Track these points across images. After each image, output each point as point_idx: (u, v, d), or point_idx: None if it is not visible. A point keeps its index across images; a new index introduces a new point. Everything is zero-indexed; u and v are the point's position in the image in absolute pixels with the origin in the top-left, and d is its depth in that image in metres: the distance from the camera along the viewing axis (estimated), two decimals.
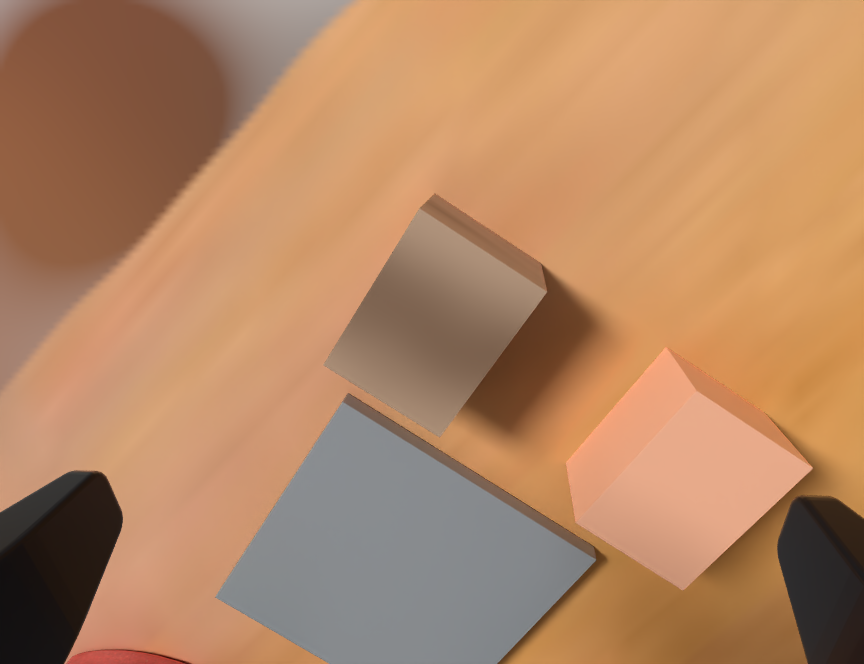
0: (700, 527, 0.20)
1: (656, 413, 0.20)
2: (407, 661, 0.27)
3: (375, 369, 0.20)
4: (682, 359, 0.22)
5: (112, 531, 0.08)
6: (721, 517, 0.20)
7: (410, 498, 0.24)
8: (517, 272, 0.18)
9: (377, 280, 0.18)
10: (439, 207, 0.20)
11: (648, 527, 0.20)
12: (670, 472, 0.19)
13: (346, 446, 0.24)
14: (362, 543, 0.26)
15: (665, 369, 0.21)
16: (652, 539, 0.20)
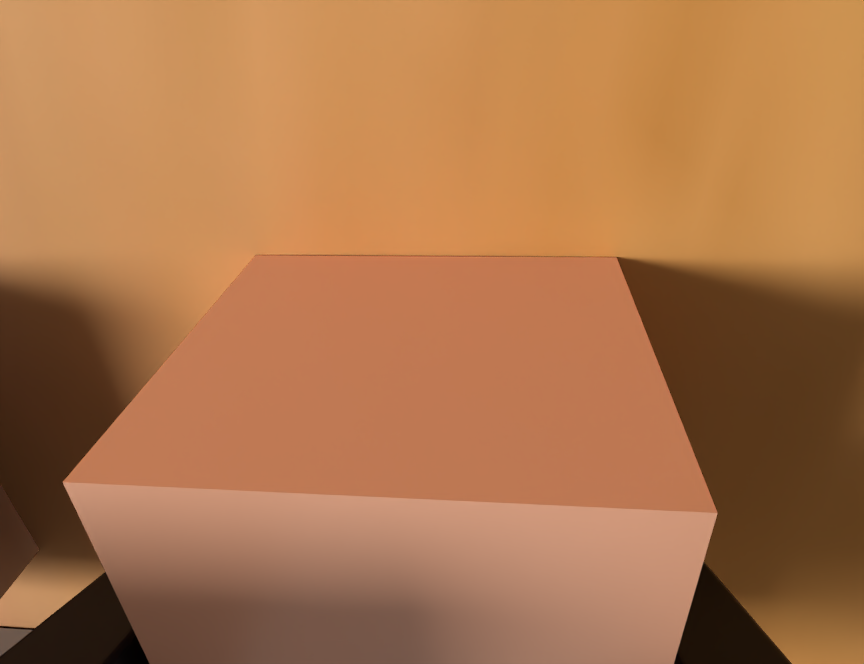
0: None
1: None
2: None
3: None
4: (293, 271, 0.07)
5: None
6: None
7: None
8: None
9: None
10: None
11: None
12: None
13: None
14: None
15: None
16: None
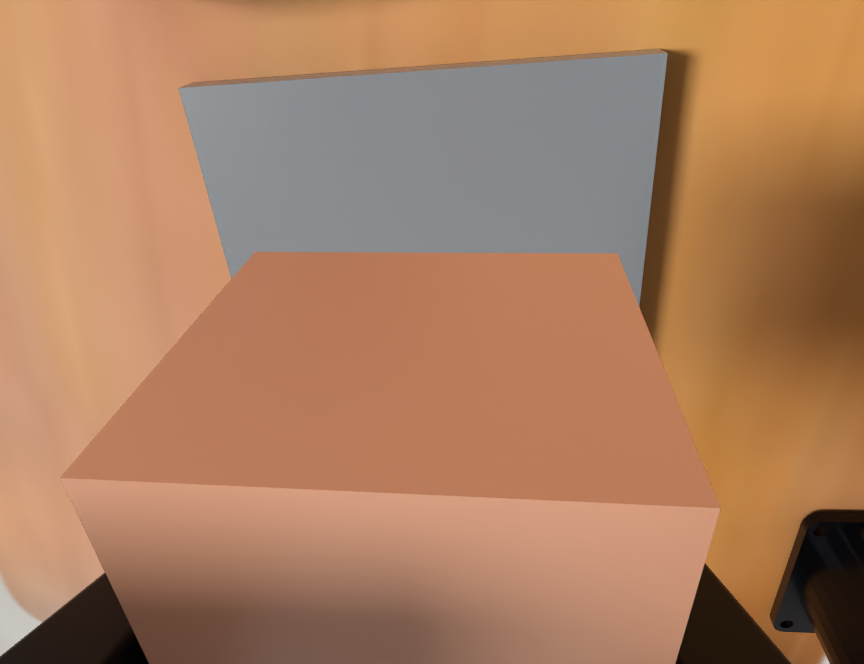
0: None
1: None
2: None
3: None
4: (292, 267, 0.07)
5: None
6: None
7: (360, 162, 0.16)
8: None
9: None
10: None
11: None
12: None
13: (234, 149, 0.16)
14: None
15: None
16: None
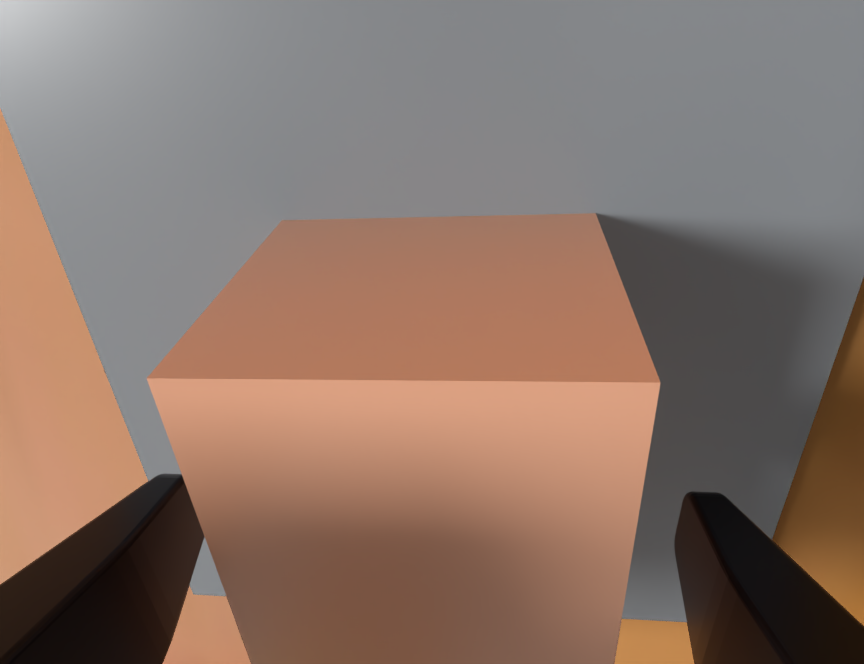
0: (509, 641, 0.07)
1: None
2: None
3: None
4: (316, 231, 0.08)
5: (198, 535, 0.08)
6: (534, 605, 0.07)
7: (318, 158, 0.08)
8: None
9: None
10: None
11: None
12: (320, 574, 0.07)
13: (80, 125, 0.08)
14: None
15: None
16: None
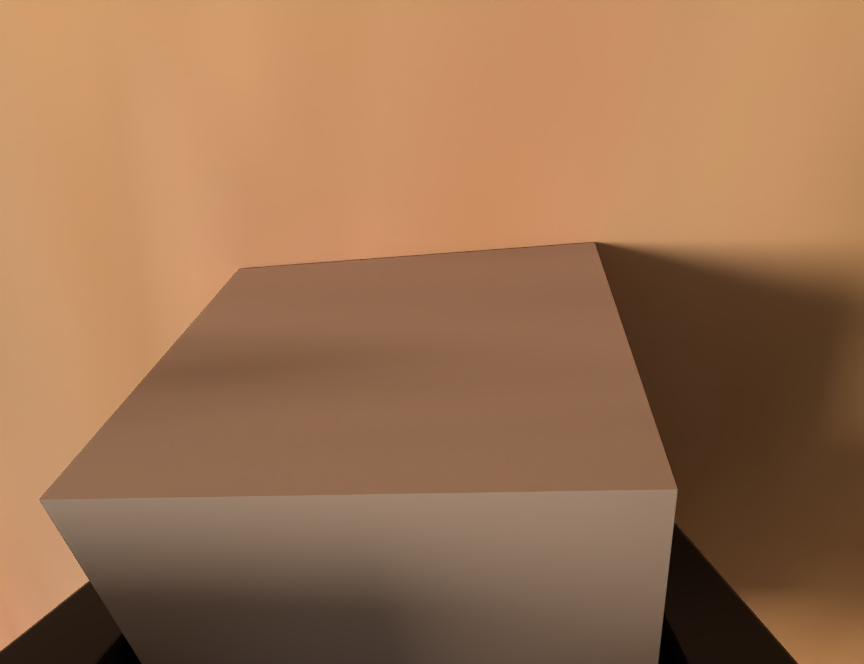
0: None
1: None
2: None
3: None
4: None
5: None
6: None
7: None
8: (508, 485, 0.04)
9: None
10: (204, 352, 0.06)
11: None
12: None
13: None
14: None
15: None
16: None
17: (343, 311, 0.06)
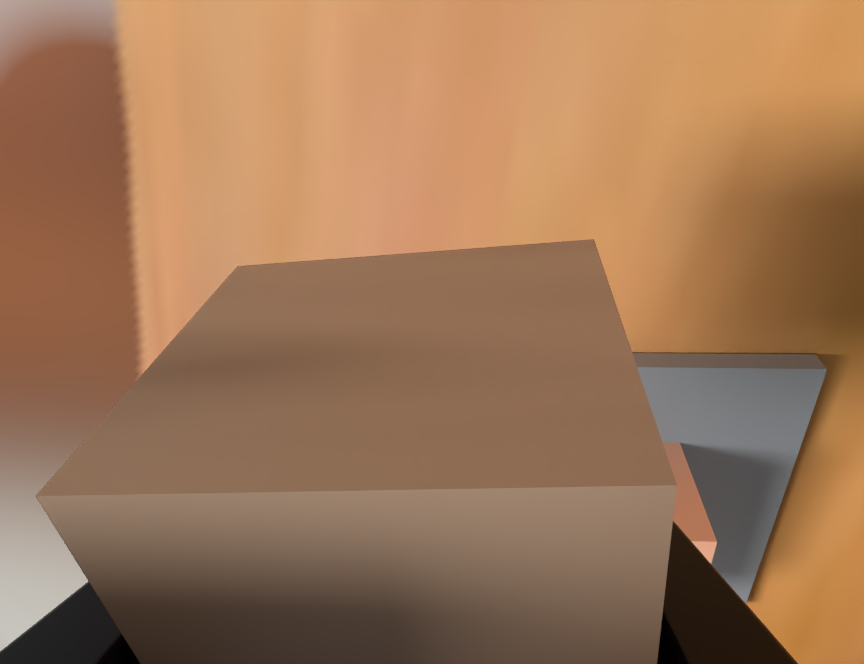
0: None
1: None
2: None
3: None
4: None
5: None
6: None
7: None
8: (506, 480, 0.04)
9: None
10: (201, 349, 0.06)
11: None
12: None
13: None
14: None
15: None
16: None
17: (341, 308, 0.06)
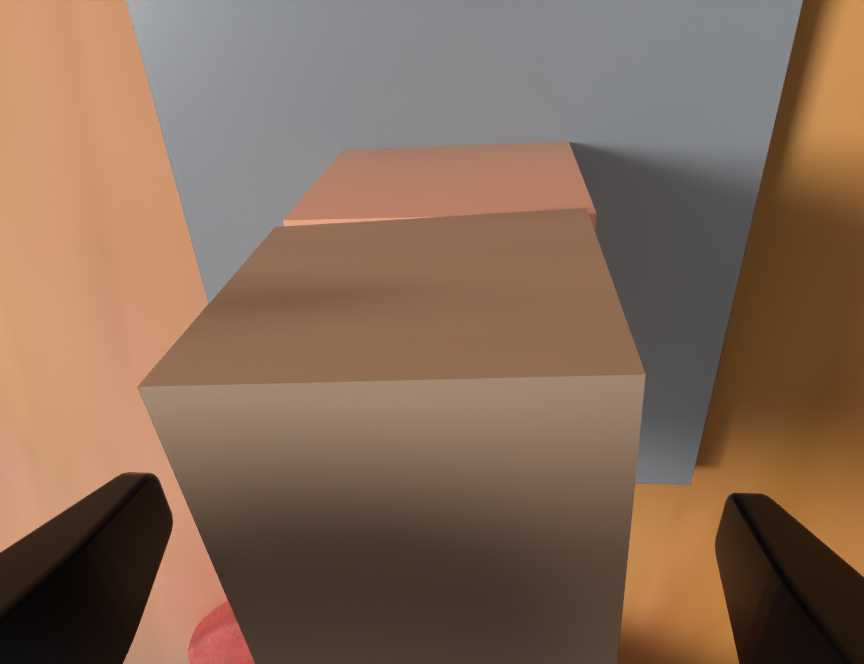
0: None
1: None
2: None
3: None
4: (369, 154, 0.12)
5: (163, 533, 0.08)
6: None
7: (371, 102, 0.12)
8: (515, 374, 0.05)
9: (219, 570, 0.07)
10: (255, 287, 0.07)
11: None
12: None
13: (200, 79, 0.12)
14: None
15: None
16: None
17: (371, 258, 0.08)
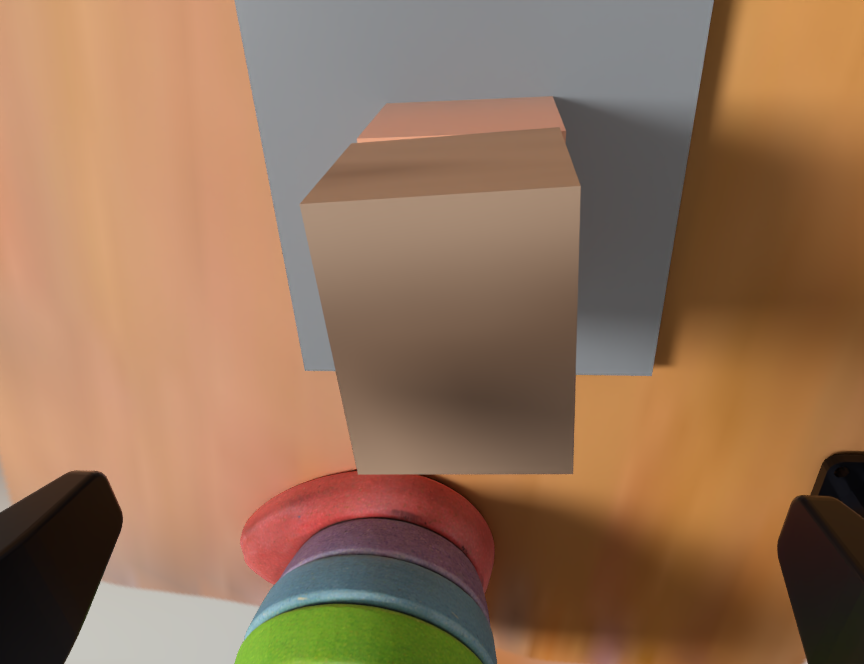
0: None
1: None
2: None
3: (422, 443, 0.12)
4: (407, 105, 0.16)
5: (112, 531, 0.08)
6: None
7: (408, 67, 0.16)
8: (511, 189, 0.10)
9: (331, 337, 0.11)
10: (350, 168, 0.12)
11: None
12: None
13: (283, 51, 0.16)
14: None
15: None
16: None
17: (421, 153, 0.12)
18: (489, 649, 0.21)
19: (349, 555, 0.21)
